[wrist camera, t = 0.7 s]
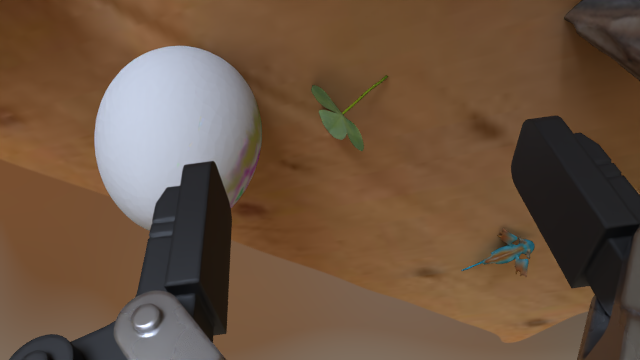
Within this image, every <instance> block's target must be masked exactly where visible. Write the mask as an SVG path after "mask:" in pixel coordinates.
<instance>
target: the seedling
mask: <svg viewBox="0 0 640 360" xmlns="http://www.w3.org/2000/svg"><path fill="white" fill-rule="evenodd" d="M387 77H388V76H387V75H386V76H385V77H384V78H383V79H381V80H380V81H379V82H378V83H376V84H375V85H373V86H372V87H371V88H369V89H368V90H367V91H366V92H365V93H364V94H362V95H361V96H360V97H359V98H358V99H357V100H356V101H355V102H354V103H353V104H352V105H350V106H349V107H348V108H347V109H346V110H345V111H344V112H343V113H341V111H340V110H339V109H338V108H337V106H336V105H335V104H334V103H333V102H332V100H331V99H330V97H329V96H328V95H327V93H326V92H325V91H324V90H322V89H321V88H320V87H318V86H315V85H313V86H312V89H311V91H312V93H313V95H314V96H315V98H316V99H317V101H318V102H319V103H320V104H322V105H323V106H324V107H326V108H328V109H329V110H331V111H333V112H331V111H326V110H320V111H319V114H320V117H321V119H322V123H323V125H324V126H325V128H326V129H327V130H328V132H329V133H330V134H331V135H332V136H333V137H335V138H336V139H340V140H343V139H344V138H345V136H346V135H347V134H348V136H349V139H350V140H351V142H352V144H353V145H354V146H355V147H356V148H357V149H359V150H360V151H363V149H364V145H363V140H362V137H361V134H360V132H359V130H358V129H357V127H356V126H355V125H354V123H352V122H351V121H350V120H348V119H347V118H346V117H345V116H344V114H345V113H346V112H347V111H348V110H349V109H351V108H352V107H353V106H354V105H355V104H356V103H357V102H359V101H360V100H361V99H362V98H363V97H364V96H365V95H366V94H367V93H368V92H369V91H371V90H372V89H373V88H375V87H376V86H377V85H379V84H380V83H382V82H383V81H384V80H385V79H386V78H387ZM334 112H335V113H334Z"/></svg>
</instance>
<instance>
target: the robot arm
mask: <svg viewBox="0 0 640 360" xmlns="http://www.w3.org/2000/svg"><path fill="white" fill-rule="evenodd" d="M511 173H512V179H513V182H514V184H515V186H516V188H517V190H518V192H519V194H520V196H521V197H522V199H523V201H524V203H525V205H526V206H527V208H528V210H529V212H530V214H531V216H532V217H533V219H534V221H535V223H536V225H537V226H538V228H539V230H540V232H541V234H542V236H543V237H544V239H545V241H546V243H547V245H548V246H549V248H550V250H551V252H552V254H553V256H554V257H555V259H556V261H557V263H558V265H559V266H560V268H561V270H562V272H563V274H564V275H565V277H566V279H567V281H568V283H569V285H570V286H571V288H577V287H585V286H590V287H591V288H592V290H593V292H594V294H595V295H594V297H593V298H592V301H591V304H590V308H589V312H588V316H587V321H586V325H585V329H584V333H583V337H582V341H581V345H580V349H579V354H578V358H577V360H640V195H639V194H638V193H637V192H636V190H635V189H634V188H633V187H632V185H631V184H630V183H629V182H628V180H627V179H626V178H625V177H624V176H622V175H621V172H620V170H619V169H618V168H617V167H616V165H615V164H614V163H611V159H610V158H609V157H608V155H607V154H606V153H605V152H604V150H603V149H602V148H601V146H600V145H599V144H597V143H596V142H594V141H593V140H591V139H589V138H588V137H586V136H585V135H583V134H582V133H574V134H573V132H572V131H571V130H570V129H569V127H568V126H567V125H566V123H565V122H564V121H563V119H562V118H561V117H559V116H549V117H542V118H534V119H528V120H526V121H525V122H524V123H523V125H522V128H521V132H520V135H519V139H518V142H517V146H516V149H515V153H514V156H513V160H512V164H511ZM231 227H232V216H231V208H230V203H229V199H228V196H227V194H226V191H225V188H224V185H223V182H222V179H221V177H220V174H219V171H218V168H217V165H216V163H215V162H214V161H208V162H201V163H193V164H186V165H184V167H183V170H182V177H181V183H180V186H173V187H167V188H166V189H165V191H164V192H163V194H162V195H161V196H160V198H159V199H158V201H157V202H156V204H155V209H154V214H153V219H152V224H151V228H150V234H149V236H150V238H149V239H148V243H147V248H146V253H145V257H144V262H143V267H142V272H141V277H140V282H139V287H138V291H137V295H136V297H135V298H134V299H132V300H131V301H130V302H129V303H128V304H127V305H126V306H125V307H124V308H123V309H122V310H121V312H120V313H119V315H118V317H117V319H116V321H114V322H112V323H111V324H110V325H107V326H105V327H104V328H101V329H99V330H97V331H94V332H92V333H90V334H87V335H85V336H83V337H81V338H78V339H76V340H74V341H72V342H69V341H68V340H67V339H66V338H64V337H63V336H60V335H53V334H50V335H45V336H41V337H38V338H35V339H33V340H31V341H29V342H28V343H26V344H25V345H23V346H22V347H21V348H20V349H18V350H17V351H16V352H15V353H14V354H13V356H12V357H11V358H10V359H9V360H226V359H225V358H224V356H223V355H222V354H221V353H220V352H219V350H218V349H217V348H216V347H215V345H214V344H213V335H220V334H226V329H227V310H228V288H229V268H230V247H231Z"/></svg>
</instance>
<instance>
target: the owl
mask: <svg viewBox="0 0 640 360" xmlns="http://www.w3.org/2000/svg"><path fill="white" fill-rule="evenodd" d="M564 19H565V20H567V21H569V22H571V23H572V24H574V26H575V28H576V32H577V33H578V35H580V36H581V37H583V38H584V39H585V40H587V41H588V42H589V43H590V44H591V45H592V46H594V47H596V48H597V49H598V50H600V51H601V52H603V53H605V54H607V55H608V56H610V57H611V58H612V59H614V60H615V61H617V62H618V63H619V64H620V65H621V66H622V67H623V68H625V69H626V70H627V71H628V72H629V73H631V74H632V75H633V76H634V77H636V78H637V79H638V80H639V81H640V0H583V1H581V2H580V3H579V4H577V5H576V6H575V7H574V8H573V9H572V10H571V11H570V12H568V13H567V15H566V16H565V17H564Z"/></svg>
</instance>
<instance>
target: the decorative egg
mask: <svg viewBox="0 0 640 360" xmlns="http://www.w3.org/2000/svg"><path fill="white" fill-rule="evenodd" d="M261 142H262V125H261V118H260V112H259V109H258V105H257V102H256V100H255V97H254V95H253V93H252V91H251V89H250V87H249V85H248V84H247V82H246V81H245V80H244V78H243V77H242V76H241V75H240V74H239V72H238V71H237V70H236V69H235V68H234V67H233V66H231V65H230V64H229V63H227V62H226V61H225V60H223V59H222V58H220V57H218V56H216V55H214V54H212V53H210V52H208V51H205V50H202V49H199V48H194V47H188V46H170V47H163V48H159V49H156V50H152V51H150V52H147V53H145V54H143V55H141V56H139V57H138V58H136V59H134V60H133V61H132V62H130V63H129V64H128V65H126V66H125V67H124V68H123V69H122V70H121V71H120V72H119V73H118V74H117V76H116V77H115V78H114V80H113V81H112V82H111V84H110V85H109V87H108V89H107V90H106V92H105V94H104V97H103V99H102V101H101V104H100V107H99V110H98V114H97V118H96V125H95V154H96V159H97V164H98V169H99V172H100V175H101V177H102V180H103V183H104V185H105V187H106V189H107V191H108V193H109V194H110V196H111V197H112V199H113V201H114V202H115V203H116V204H117V206H118V207H119V208H120V209H121V210H122V211H123V213H124V214H125V215H127V216H128V217H129V218H130V219H131V220H132V221H134V222H135V223H136V224H138V225H140V226H141V227H143V228H145V229H147V230H149V231H150V228H151V224H152V219H153V214H154V209H155V204H156V202H157V201H158V199H159V198H160V196H161V195H162V194H163V192H164V191H165V189H166V188H167V187H173V186H180V183H181V177H182V170H183V167H184V165H186V164H193V163H201V162H208V161H214V162H215V163H216V165H217V168H218V171H219V174H220V177H221V179H222V182H223V185H224V188H225V191H226V194H227V196H228V199H229V203H230V208H232V207H233V205H234V204H235V203H236V202H237V201H238V200H239V198H240V197H241V196H242V194H243V193H244V191H245V190H246V188H247V186H248V184H249V182H250V180H251V178H252V176H253V174H254V171H255V169H256V166H257V162H258V159H259V155H260V149H261Z"/></svg>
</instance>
